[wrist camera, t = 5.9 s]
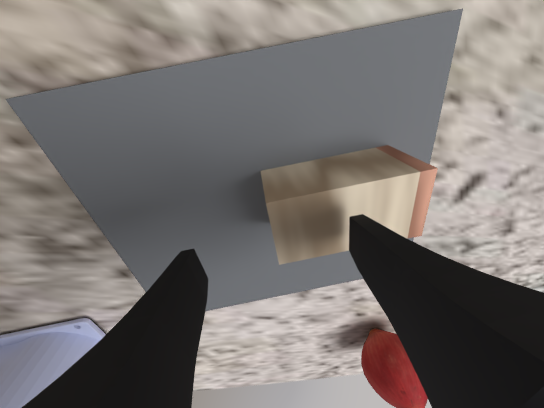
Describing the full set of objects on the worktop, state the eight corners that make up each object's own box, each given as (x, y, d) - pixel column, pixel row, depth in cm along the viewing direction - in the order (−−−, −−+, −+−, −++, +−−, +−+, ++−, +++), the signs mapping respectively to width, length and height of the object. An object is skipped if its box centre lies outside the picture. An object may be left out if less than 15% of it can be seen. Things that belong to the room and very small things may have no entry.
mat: (167, 314, 20) (165, 319, 19) (15, 98, 11) (5, 99, 10) (403, 265, 20) (406, 269, 19) (454, 11, 11) (463, 8, 10)
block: (279, 264, 12) (421, 235, 12) (265, 203, 10) (437, 168, 10) (271, 222, 15) (382, 200, 15) (260, 170, 13) (388, 145, 13)
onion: (402, 309, 24) (467, 405, 17) (394, 338, 27) (447, 429, 20) (350, 319, 23) (394, 419, 17) (348, 347, 26) (384, 441, 20)
